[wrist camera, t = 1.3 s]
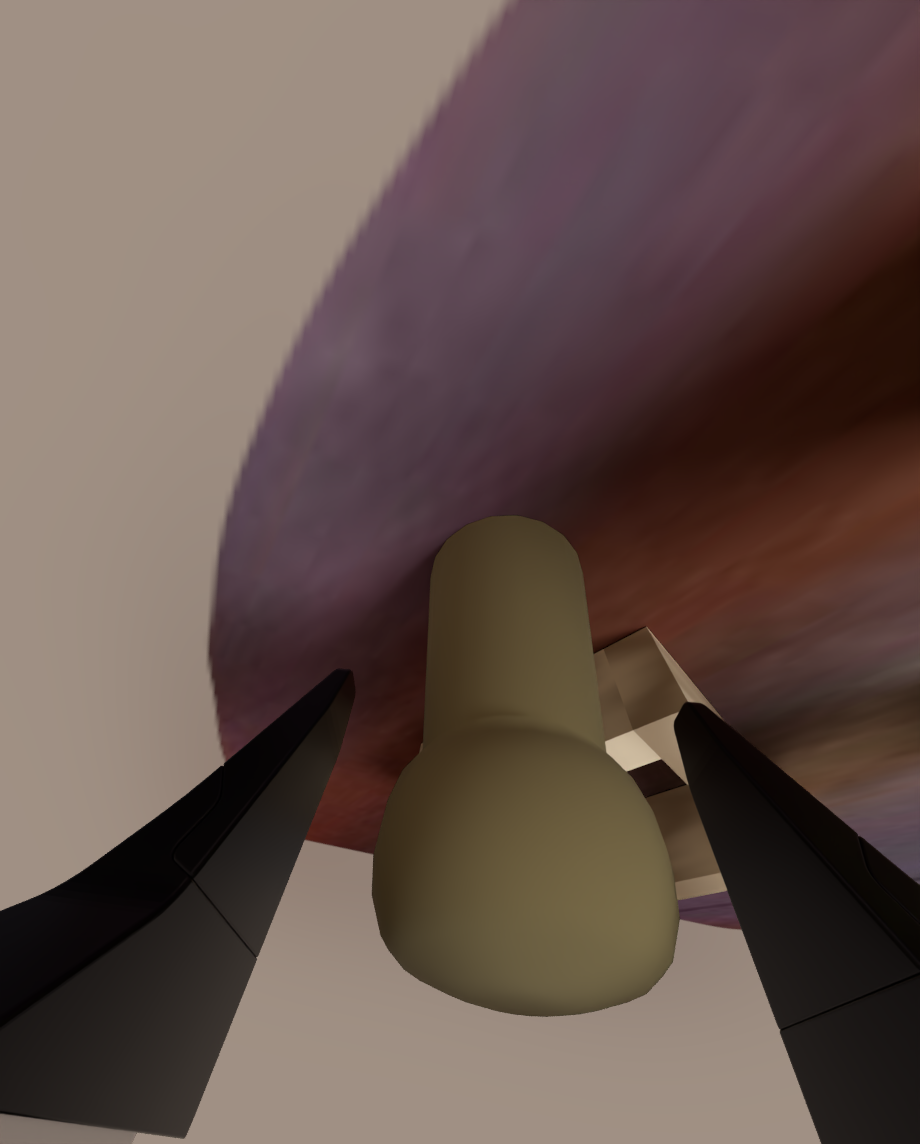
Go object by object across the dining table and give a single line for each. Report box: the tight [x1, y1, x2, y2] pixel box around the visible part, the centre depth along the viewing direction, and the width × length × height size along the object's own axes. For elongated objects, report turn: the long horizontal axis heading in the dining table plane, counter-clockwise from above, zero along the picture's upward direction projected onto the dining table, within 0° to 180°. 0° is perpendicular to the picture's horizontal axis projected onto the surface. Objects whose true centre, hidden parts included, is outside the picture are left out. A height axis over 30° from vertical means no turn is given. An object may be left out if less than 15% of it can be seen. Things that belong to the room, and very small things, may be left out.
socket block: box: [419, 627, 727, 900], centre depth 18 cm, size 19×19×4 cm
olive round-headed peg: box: [372, 515, 680, 1017], centre depth 10 cm, size 6×6×11 cm
